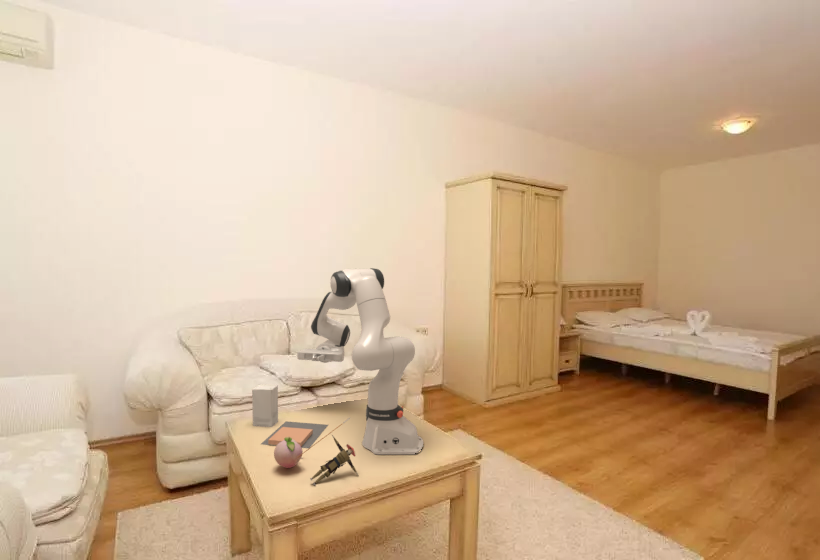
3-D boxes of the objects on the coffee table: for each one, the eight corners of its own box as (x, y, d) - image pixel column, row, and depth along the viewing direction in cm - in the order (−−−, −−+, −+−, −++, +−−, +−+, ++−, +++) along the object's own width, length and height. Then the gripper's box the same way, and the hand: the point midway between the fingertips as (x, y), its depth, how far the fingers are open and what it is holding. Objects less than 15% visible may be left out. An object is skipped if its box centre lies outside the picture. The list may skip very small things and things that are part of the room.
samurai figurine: (321, 503, 129) (372, 460, 140) (328, 504, 121) (381, 459, 132) (293, 458, 131) (345, 419, 142) (298, 456, 123) (353, 415, 134)
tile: (312, 429, 160) (300, 442, 148) (312, 434, 160) (300, 447, 148) (282, 426, 161) (268, 439, 149) (282, 431, 161) (268, 445, 149)
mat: (328, 425, 169) (328, 424, 169) (309, 449, 148) (309, 448, 148) (285, 422, 172) (285, 421, 172) (260, 445, 150) (260, 444, 150)
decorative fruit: (269, 465, 135) (270, 435, 135) (294, 459, 140) (294, 429, 140) (279, 478, 128) (280, 446, 127) (305, 471, 133) (306, 439, 132)
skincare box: (278, 422, 171) (279, 384, 171) (271, 428, 165) (272, 389, 164) (258, 421, 172) (259, 383, 172) (251, 427, 166) (251, 388, 165)
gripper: (303, 344, 192) (291, 350, 179) (347, 346, 190) (338, 353, 176) (303, 358, 193) (291, 365, 179) (347, 360, 190) (338, 367, 176)
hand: (315, 359), depth 177 cm, fingers closed
